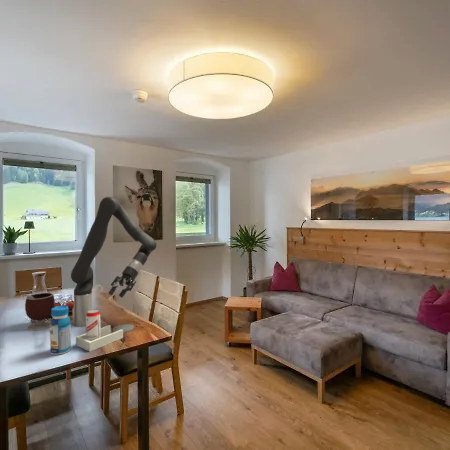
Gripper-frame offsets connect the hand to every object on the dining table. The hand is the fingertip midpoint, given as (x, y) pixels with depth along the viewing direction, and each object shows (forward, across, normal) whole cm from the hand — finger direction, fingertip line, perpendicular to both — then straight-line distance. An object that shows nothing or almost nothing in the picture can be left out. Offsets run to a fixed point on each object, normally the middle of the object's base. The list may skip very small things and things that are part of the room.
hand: (115, 295), depth 150 cm
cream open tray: (+21, 0, +8) cm, 22 cm away
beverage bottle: (+32, -6, -3) cm, 33 cm away
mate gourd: (+26, -45, +3) cm, 52 cm away
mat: (+9, -4, +20) cm, 22 cm away
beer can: (+24, 0, +6) cm, 24 cm away
